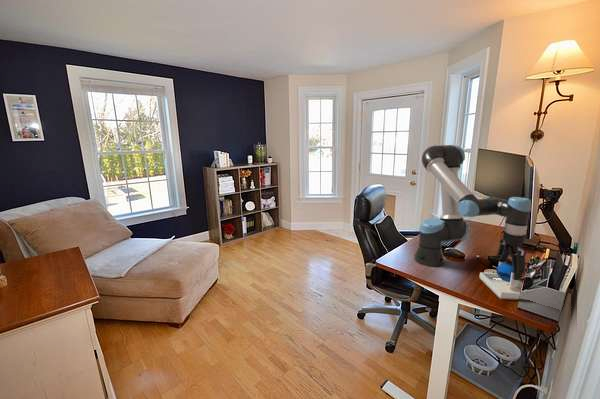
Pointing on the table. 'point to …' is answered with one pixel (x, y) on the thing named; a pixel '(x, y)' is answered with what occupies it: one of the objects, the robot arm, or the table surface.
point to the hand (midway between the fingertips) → (506, 280)
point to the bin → (501, 286)
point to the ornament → (505, 271)
